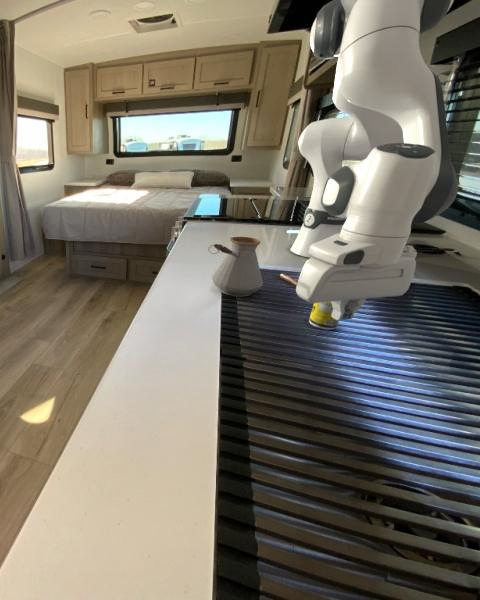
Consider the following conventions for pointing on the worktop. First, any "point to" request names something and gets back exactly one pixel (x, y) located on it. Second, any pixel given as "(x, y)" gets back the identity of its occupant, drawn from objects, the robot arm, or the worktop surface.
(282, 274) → the wooden spoon
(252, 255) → the coffee pot
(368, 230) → the robot arm
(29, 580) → the worktop surface
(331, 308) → the supplement bottle
